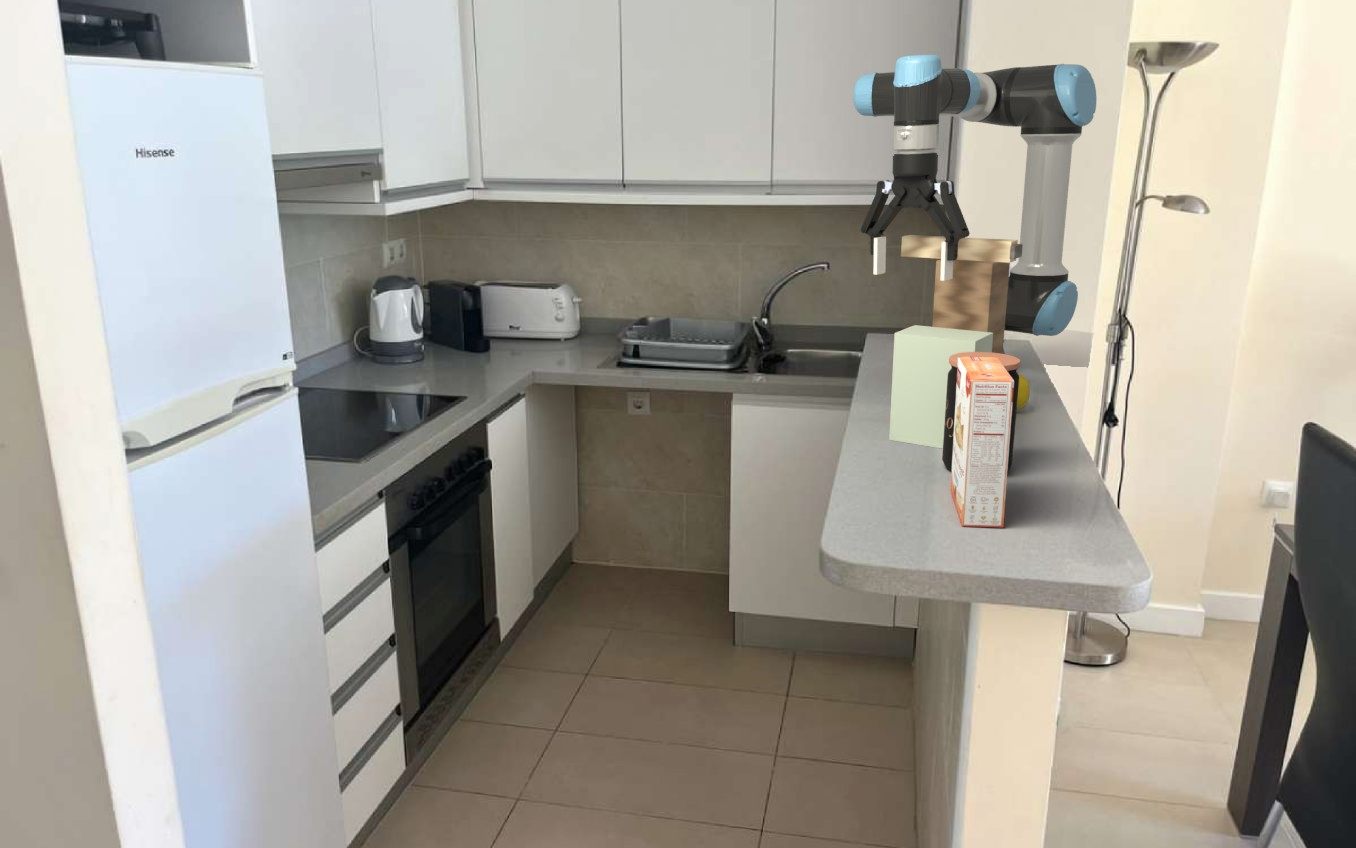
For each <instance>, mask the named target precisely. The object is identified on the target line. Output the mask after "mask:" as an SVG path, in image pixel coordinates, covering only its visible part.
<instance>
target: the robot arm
mask: <svg viewBox="0 0 1356 848" xmlns="http://www.w3.org/2000/svg"><path fill="white" fill-rule="evenodd" d="M852 100H853V105H854V108H855V109H856V111H857V113H859V115H862V116H864V117H875V118H877V117H885V116H886V117H893V138H892V140H893V141H892V143H893V144H892V147H893V148H892V149H893V150H894V151H896V153H894V154H893V155H892V172H891V173H892V175H893V180H892V181H890V180H889V179H886V180H884V179H883V180H879V181H877V182H876V189H875V191H876V192H875V195H874V197H873V199H872V202H871V204H870V207H869V209H868V212H867V214H866V216H865V219H864V220H863V222H862V225H861V226H860V227H861V228H860V232H861V233H862V234H866V235H867V236H869V238H870V243H869V244H870V249H869V251H870V255H871V256H873V267H872V268H873V272H872V273H873V275H877V276H878V275H882V274H886V267H887V265H886V263H887V259H886V258H887V256H886V255H887V236H884V235H885V234H884V232H886V230H887V229H888V227H889V226H890V224H891V223H892V222H893V220H894V219H895V218H896V217H897V215H898V214H899V212H901V210H902V209H907V208H912V209H923V210H924V211H925V212H927V214H928V215H929V217H930V218H931V219H932V221H933V223H934V225H936V227H937V228H938V230H939V231H940V233H941V235H942V237H945V239H946V240H945V241H944V242H942V248H941V276H940V280H941V281H945V280H949V279H953V260H956V259H957V257H958V241H959V240H960V239H962V238H969V237H970V234H971V233H970V230H969V228H968V225H967V222H966V220H965V217H964V215H963V212H962V210H961V207H960V205H959V202H958V200H957V197H956V194H955V184H954V181H953V180H946V181H942V182H938V181H937V175H938V168H939V167H938V166H939V154H938V153H937V152H936V151H935V150H937V149H939V145H940V144H939V142H940V141H939V139H940V138H939V135H940V117H959V118H960V119H962V120H963V121H966V122H969V123H983V124H989V125H996V126H1000V127H1002V126H1003V127H1012V128H1013V127H1014V128H1015V127H1020V138H1022V139H1023V141H1024V142H1025V143H1026V145H1027V146H1026V147H1027V148H1026V161H1025V171H1024V172H1025V174H1024V183H1023V184H1024V186H1023V187H1024V188H1023V199H1022V200H1023V201H1022V210H1021V211H1022V213H1021V223H1020V224H1021V225H1020V237H1019V244H1023V247H1022V257H1019V258H1018V259H1017V260H1018V261H1017V263H1016V264H1014V266H1013V267H1012V268H1009V280H1008V292H1007V305H1006V317H1005V330H1004V332H1006V331H1007V332H1016V333H1022V334H1028V335H1034V336H1037V337H1038V336H1039V337H1040V336H1044V337H1045V336H1046V337H1047V336H1048V337H1054V336H1057V335H1059V334H1061V333H1062V332H1064V330H1065V329H1066V328H1067V327H1068V326H1069V324H1070V322H1071V321H1072V318H1073V317H1074V314H1075V312H1076V308H1077V304H1078V299H1079V297H1078V296H1079V291H1078V286H1077V285H1076V284H1075V283H1074V282H1072V281H1071V280H1069V272H1070V271H1069V270H1068V269H1067V267H1065V265H1064V264H1063V252H1064V239H1065V228H1066V220H1067V208H1068V197H1069V185H1070V176H1071V175H1070V174H1071V165H1072V163H1071V162H1072V154H1073V153H1072V152H1073V144H1074V142H1076V141H1077V140H1078V139H1079V138H1080V137H1082V132H1083V131H1082V130H1083V127H1085V126H1088V125H1089V124H1090V123H1091V122H1092V121H1093V119H1094V117H1095V116H1094V114H1095V113H1096V109H1097V90H1096V84H1095V81H1094V78H1093V76H1092V74H1091V72H1090V71H1089V69H1088V68H1086V67H1085V66H1084V65H1081V64H1076V63H1075V64H1068V63H1067V64H1065V63H1058V64H1051V65H1050V64H1049V65H1034V66H1022V67H1021V66H1016V67H1009V68H1003V69H998V70H992V71H985V72H974V71H972V70H969V69H967V68H966V69H964V68H962V67H955V68H954V67H953V68H950V67H949V68H943V67H942V59H941V58H940V56H939V55H938V54H916V55H906V56H905V55H904V56H901V57H899V58H898V59H896V62H895V68H894V72H893V71H891V72H890V71H889V72H873V73H869V74H868V73H866V74H863V75H861V76H860V77H859V78H858V79H857V80H856V82H855V85H854V87H853V99H852ZM891 193H893V195H894V197H893V198H892V199H891V201H890V202H889V204H888V206H887V208H886V209H885V210H884V208H885V205H886V203H887V200H888V199H889V196H890V194H891ZM936 193H938V195H940V199H941V203H942V204H943V207H944V209H945V211H946V214H947V215H946V214H945V211H944V210H943V209H942V208H941V206H940V205H941V204H940V202H939V201H938V199H937V197H936V196H935V195H936ZM883 210H884V212H883ZM882 212H883V213H882ZM1003 354H1006V353H1005V349H1004V347H1003Z"/></svg>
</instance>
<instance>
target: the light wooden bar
mask: <svg viewBox="0 0 1356 848" xmlns="http://www.w3.org/2000/svg"><path fill="white" fill-rule="evenodd" d="M945 240H946V239H945V237H944V236H941V235H940V236H938V235H937V236H935V235H916V234H915V235H914V234H908V235H903V236H901V250H900V257H907V258H923V259H925V258H926V259H937V260H940V259H941V248H942V242H944V241H945ZM1022 247H1023V244H1020V243H1019V241H1018V239H1004V238H1003V239H1002V238H983V237H965V238H962V239H960V240H959V241H958V257H957V259H956V260H972V261H989V262H1007V263H1010V264H1011V263H1014V262H1016V261H1017V259H1019V257H1022Z"/></svg>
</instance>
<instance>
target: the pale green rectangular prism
mask: <svg viewBox="0 0 1356 848" xmlns="http://www.w3.org/2000/svg"><path fill="white" fill-rule="evenodd" d="M893 337H894V339H893V356H892V357H893V358H892V373H891V374H892V375H891V376H892V377H891V380H892V381H891V398H890V399H891V400H890V416H889V435H888V436H889V437H888V440H889V441H893V442H894V441H895V442H900V443H906V444H912V445H919V446H925V447H931V448H936V449H941V450H943V440H944V424H945V409H946V394H947V379H948V372H949V371H950V370H951V368H952V366H951V365H950V363H949V357H950V356H951V355H954V354H957V353H963V352H991V353H992V342H993V333H991V332H980V331H970V330H960V329H949V328H939V327H932V326H929V325H916V324H914V325H912V326H911V325H910V326H909V327H906V328H904V329H901V330H900V331H899V330H898V331H896V332H894V336H893Z"/></svg>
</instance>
